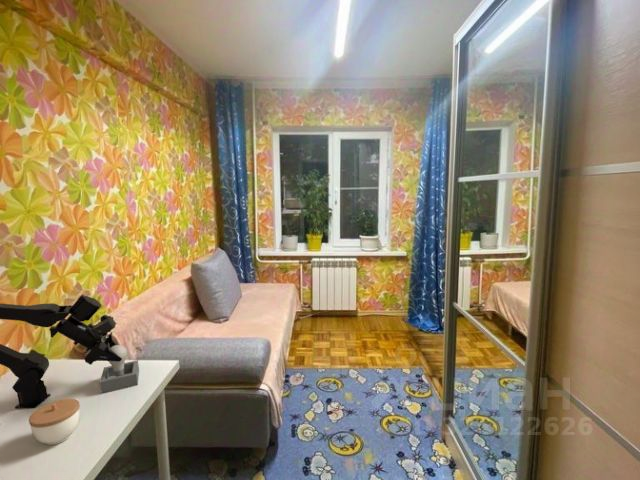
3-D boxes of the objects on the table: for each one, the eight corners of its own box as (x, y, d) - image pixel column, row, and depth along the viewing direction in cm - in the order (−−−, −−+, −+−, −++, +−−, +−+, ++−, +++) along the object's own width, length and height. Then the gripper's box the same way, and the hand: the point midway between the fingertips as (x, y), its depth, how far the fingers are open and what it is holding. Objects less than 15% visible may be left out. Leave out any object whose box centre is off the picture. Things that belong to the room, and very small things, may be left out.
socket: (101, 393, 115) (99, 382, 114) (105, 378, 124) (104, 367, 124) (137, 385, 119) (136, 373, 118) (139, 370, 128) (137, 360, 128)
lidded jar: (40, 430, 98) (34, 399, 97) (86, 418, 103) (81, 388, 101) (28, 457, 89) (21, 422, 87) (79, 442, 93) (73, 410, 91)
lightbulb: (126, 379, 118) (122, 347, 117) (106, 383, 117) (102, 350, 116) (132, 371, 124) (128, 340, 123) (113, 374, 123) (108, 343, 122)
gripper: (92, 321, 107) (137, 348, 114) (101, 303, 124) (140, 327, 130) (64, 351, 106) (112, 377, 112) (77, 329, 122) (118, 352, 129)
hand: (121, 356), depth 121 cm, fingers closed on lightbulb, 5 cm apart
